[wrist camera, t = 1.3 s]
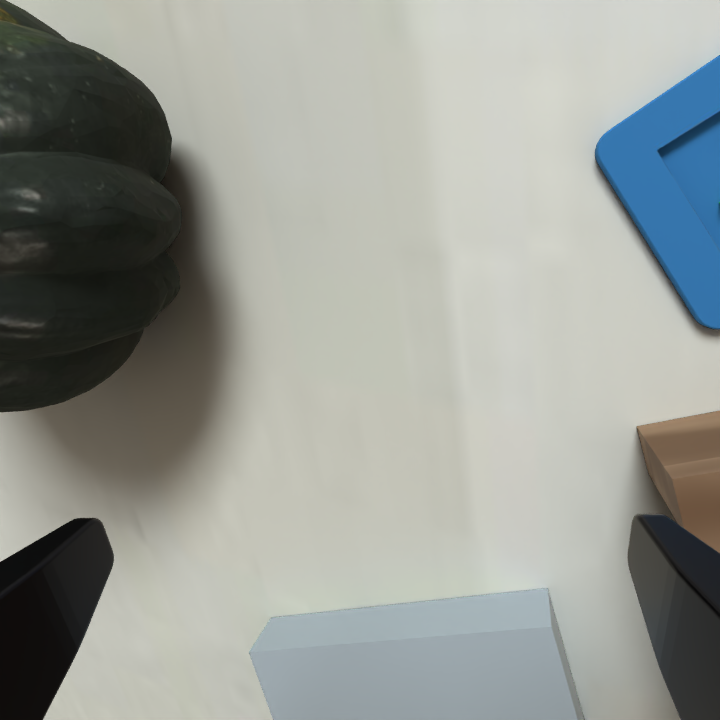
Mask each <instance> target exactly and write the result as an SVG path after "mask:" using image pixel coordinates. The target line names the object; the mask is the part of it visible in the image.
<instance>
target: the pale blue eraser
mask: <svg viewBox="0 0 720 720" xmlns="http://www.w3.org/2000/svg"><path fill="white" fill-rule="evenodd" d="M249 654H250V657H251V660H252V663H253V665H254V668H255V671H256V674H257V676H258V679H259V682H260V685H261V687H262V690H263V693H264V696H265V698H266V701H267V704H268V707H269V709H270V712H271V715H272V718H273V720H584V716H583V713H582V709H581V706H580V702H579V698H578V695H577V691H576V688H575V684H574V681H573V677H572V673H571V670H570V666H569V663H568V659H567V656H566V652H565V648H564V645H563V641H562V638H561V634H560V631H559V627H558V623H557V620H556V616H555V613H554V609H553V606H552V602H551V598H550V595H549V591H548V588H545V589H535V590H526V591H517V592H507V593H498V594H488V595H479V596H470V597H460V598H451V599H442V600H432V601H423V602H414V603H404V604H395V605H386V606H376V607H367V608H357V609H348V610H339V611H329V612H320V613H311V614H301V615H292V616H283V617H273V618H271V619H270V620H269V622H268V623H267V625H266V626H265V628H264V629H263V631H262V633H261V634H260V636H259V637H258V639H257V640H256V642H255V643H254V645H253V646H252V648H251V650H250V651H249Z"/></svg>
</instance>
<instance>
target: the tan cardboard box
mask: <svg viewBox="0 0 720 720" xmlns="http://www.w3.org/2000/svg"><path fill="white" fill-rule="evenodd" d="M637 430H638V434H639V438H640V442H641V446H642V450H643V454H644V458H645V462H646V466H647V470H648V474H649V475H650V477H651V479H652V480H653V482H654V484H655V486H656V487H657V489H658V491H659V492H660V494H661V496H662V498H663V499H664V501H665V503H666V504H667V506H668V508H669V509H670V511H671V513H672V515H673V516H674V518H675V520H676V521H677V524H679V525H680V526H682V527H683V528H684V529H686V530H687V531H689V532H690V533H692V534H693V535H694V536H696V537H697V538H699V539H700V540H702V541H703V542H704V543H706V544H707V545H709V546H710V547H712V548H713V549H715V550H716V551H717V552H719V553H720V411H716V412H710V413H705V414H700V415H694V416H689V417H684V418H679V419H673V420H668V421H663V422H658V423H652V424H647V425H642V426H637Z"/></svg>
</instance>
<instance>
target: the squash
mask: <svg viewBox="0 0 720 720" xmlns="http://www.w3.org/2000/svg"><path fill="white" fill-rule="evenodd" d="M171 143H172V137H171V134H170V130H169V127H168V123H167V120H166V117H165V114H164V112H163V110H162V108H161V106H160V104H159V102H158V101H157V99H156V97H155V96H154V94H153V93H152V92H151V91H150V90H149V89H148V88H147V87H146V85H145V84H144V83H143V82H142V81H140V80H139V79H138V78H136V77H135V76H134V75H132V74H131V73H130V72H128V71H127V70H126V69H124V68H122V67H121V66H119V65H118V64H117V63H115V62H114V61H112V60H110V59H108V58H107V57H105V56H103V55H101V54H100V53H98V52H96V51H94V50H92V49H89V48H87V47H84V46H81V45H78V44H75V43H73V42H69V41H68V40H66V39H65V38H64V37H63V36H61V35H60V34H59V33H58V32H56V31H55V30H54V29H52V28H51V27H49V26H48V25H46V24H45V23H43V22H42V21H40V20H38V19H37V18H35V17H34V16H32V15H31V14H29V13H28V12H26V11H25V10H23V9H21V8H19V7H17V6H16V5H14V4H12V3H10V2H8V1H6V0H0V412H13V411H25V410H31V409H36V408H41V407H45V406H49V405H54V404H58V403H61V402H64V401H66V400H69V399H71V398H73V397H75V396H78V395H80V394H82V393H84V392H87V391H89V390H90V389H92V388H94V387H96V386H97V385H98V384H100V383H101V382H103V381H104V380H105V379H107V378H108V377H110V376H111V375H112V374H113V373H114V372H115V371H117V370H118V369H119V368H120V367H121V366H122V365H123V364H124V362H125V361H126V360H127V359H128V358H129V356H130V355H131V354H132V352H133V350H134V349H135V347H136V345H137V344H138V342H139V340H140V338H141V335H142V333H143V330H144V328H145V327H147V326H148V325H149V324H150V323H151V322H152V321H153V320H154V319H156V317H157V315H158V314H159V312H160V311H161V310H162V309H163V308H165V307H166V306H167V305H169V304H170V303H171V301H172V300H173V299H174V297H175V296H176V295H177V293H178V291H179V289H180V284H179V273H178V270H177V268H176V266H175V264H174V262H173V260H172V259H171V257H170V256H169V255H168V254H167V253H166V252H165V251H164V250H166V249H167V248H168V247H169V246H170V244H171V243H172V242H173V241H174V240H175V238H176V237H177V235H178V234H179V232H180V227H181V222H182V212H181V208H180V205H179V203H178V201H177V200H176V198H175V197H174V196H173V195H172V194H171V193H170V192H169V191H168V190H167V189H166V188H165V187H164V186H163V185H161V184H160V182H161V181H162V179H163V178H164V176H165V173H166V170H167V167H168V164H169V161H170V153H171Z"/></svg>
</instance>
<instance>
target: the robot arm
mask: <svg viewBox="0 0 720 720" xmlns="http://www.w3.org/2000/svg"><path fill="white" fill-rule="evenodd" d="M113 562H114V554H113V550H112V547H111V545H110V542H109V539H108V536H107V534H106V531H105V528H104V526H103V523H102V522H101V521H100V520H99V519H96V518H77V519H74V520H72V521H70V522H68V523H66V524H65V525H63V526H61V527H59V528H58V529H56V530H54V531H53V532H51V533H49V534H47V535H46V536H44V537H42V538H41V539H39V540H37V541H35V542H34V543H32V544H30V545H29V546H27V547H25V548H23V549H22V550H20V551H18V552H17V553H15V554H13V555H11V556H10V557H8V558H6V559H5V560H3V561H1V562H0V720H43V718H44V716H45V715H46V713H47V711H48V709H49V707H50V705H51V703H52V701H53V699H54V697H55V695H56V693H57V691H58V689H59V687H60V685H61V684H62V682H63V680H64V678H65V676H66V674H67V672H68V670H69V668H70V666H71V664H72V662H73V660H74V658H75V656H76V654H77V652H78V650H79V647H80V645H81V643H82V640H83V638H84V636H85V633H86V631H87V629H88V626H89V624H90V621H91V619H92V616H93V614H94V611H95V609H96V606H97V604H98V601H99V599H100V596H101V594H102V592H103V589H104V587H105V584H106V582H107V579H108V577H109V574H110V572H111V569H112V566H113ZM628 565H629V570H630V573H631V576H632V580H633V583H634V586H635V590H636V593H637V596H638V600H639V603H640V606H641V610H642V613H643V616H644V619H645V623H646V626H647V629H648V633H649V636H650V639H651V643H652V646H653V649H654V652H655V655H656V658H657V661H658V665H659V667H660V670H661V673H662V675H663V678H664V680H665V683H666V685H667V688H668V690H669V692H670V695H671V697H672V699H673V702H674V704H675V706H676V709H677V711H678V713H679V716H680V718H681V720H720V553H719V552H717V551H716V550H715V549H713V548H712V547H710V546H709V545H707V544H706V543H704V542H703V541H702V540H700V539H699V538H697V537H696V536H694V535H693V534H692V533H690V532H689V531H687V530H686V529H684V528H683V527H682V526H680V525H679V524H677V523H676V522H674V521H673V520H671V519H670V518H669V517H667V516H665V515H663V514H637V515H636V516H634V518H633V520H632V526H631V534H630V541H629V549H628Z"/></svg>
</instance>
